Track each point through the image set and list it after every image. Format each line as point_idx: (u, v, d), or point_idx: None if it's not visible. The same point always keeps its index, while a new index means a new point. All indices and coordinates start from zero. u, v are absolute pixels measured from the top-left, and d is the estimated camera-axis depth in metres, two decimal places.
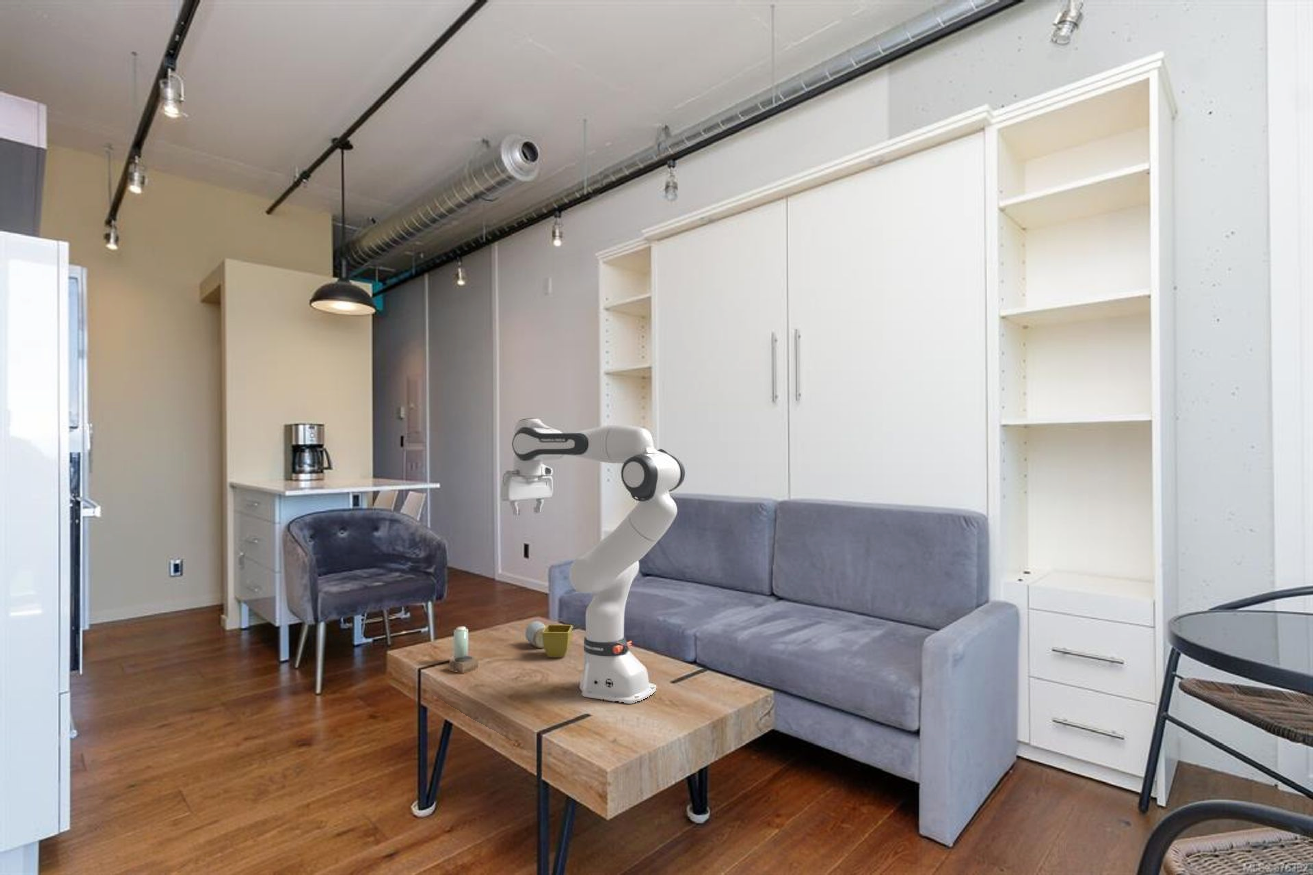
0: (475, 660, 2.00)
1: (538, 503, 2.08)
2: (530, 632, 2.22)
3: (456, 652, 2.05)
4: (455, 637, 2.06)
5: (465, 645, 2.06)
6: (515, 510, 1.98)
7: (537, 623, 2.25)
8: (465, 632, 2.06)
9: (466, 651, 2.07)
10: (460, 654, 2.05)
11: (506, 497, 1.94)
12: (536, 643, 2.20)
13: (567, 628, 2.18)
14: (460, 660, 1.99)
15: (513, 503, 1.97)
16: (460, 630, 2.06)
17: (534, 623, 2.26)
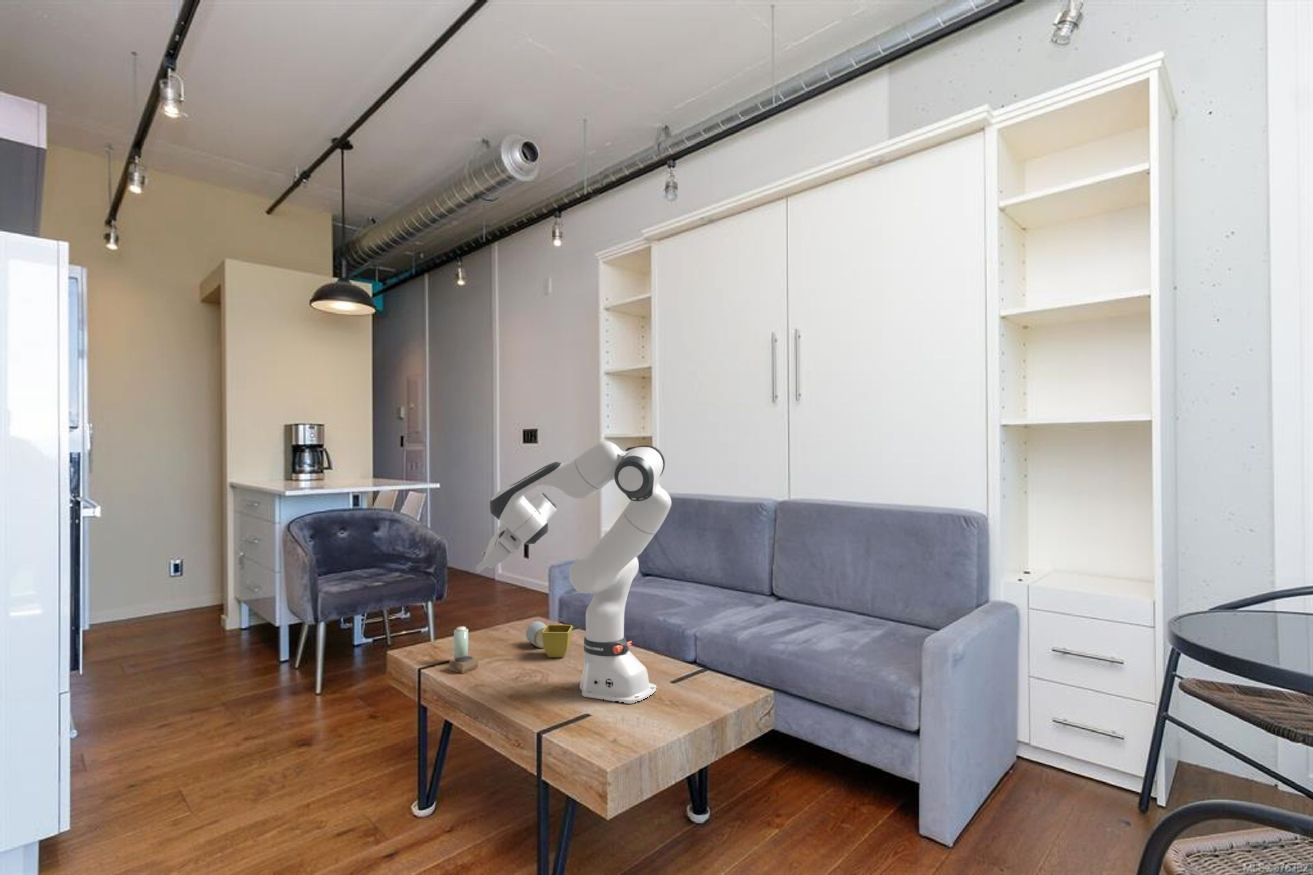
0: (475, 660, 2.00)
1: None
2: (531, 632, 2.23)
3: (456, 651, 2.05)
4: (455, 637, 2.06)
5: (465, 645, 2.06)
6: None
7: (538, 623, 2.26)
8: (465, 632, 2.06)
9: (466, 651, 2.07)
10: (460, 654, 2.05)
11: None
12: (537, 643, 2.20)
13: (567, 628, 2.18)
14: (460, 660, 1.99)
15: None
16: (460, 630, 2.06)
17: (535, 623, 2.26)
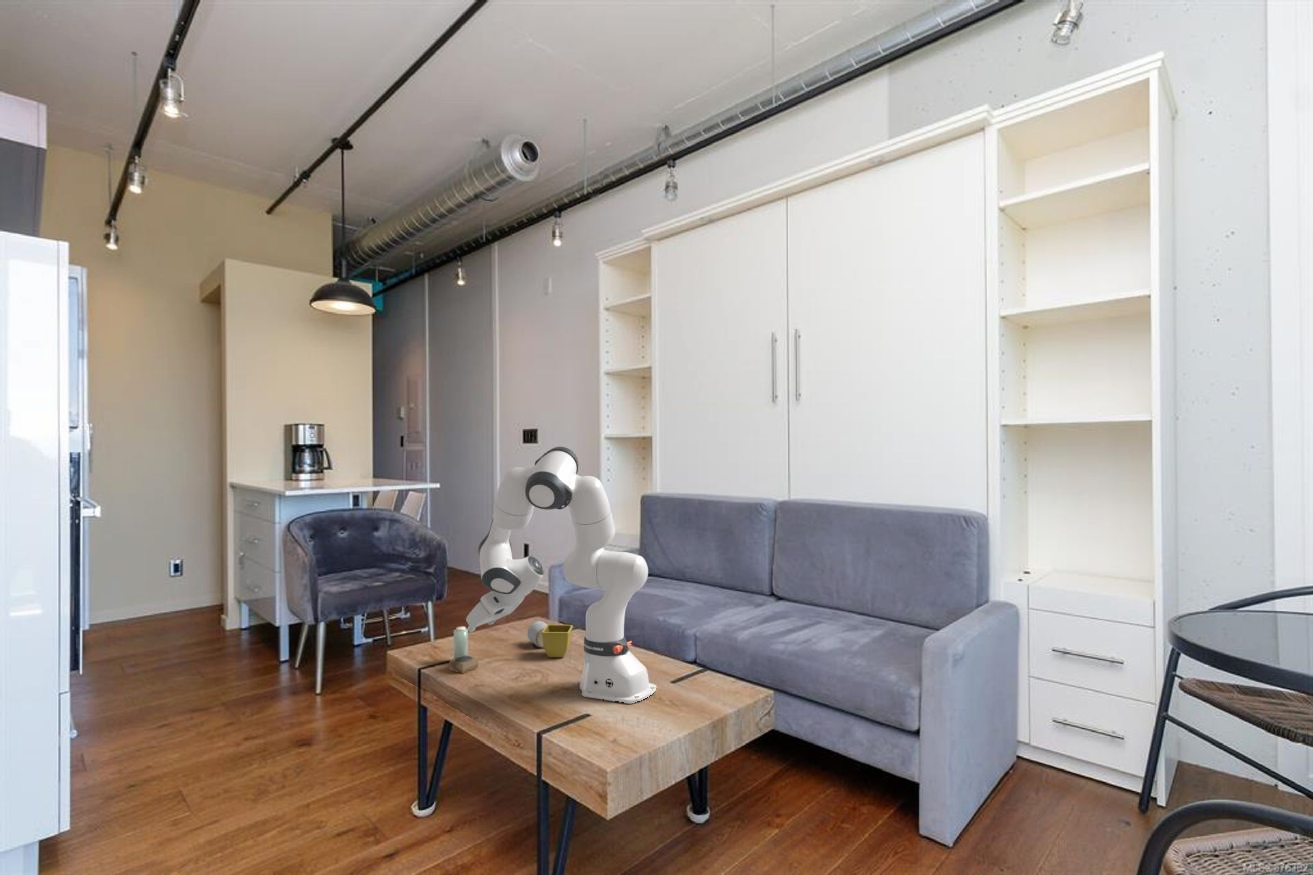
0: (475, 660, 2.00)
1: None
2: (532, 632, 2.23)
3: (456, 651, 2.05)
4: (455, 637, 2.06)
5: (465, 645, 2.06)
6: None
7: (539, 623, 2.26)
8: (465, 632, 2.06)
9: (466, 651, 2.07)
10: (459, 654, 2.05)
11: None
12: (538, 643, 2.20)
13: (567, 628, 2.18)
14: (460, 660, 1.99)
15: None
16: (460, 630, 2.06)
17: (536, 623, 2.26)
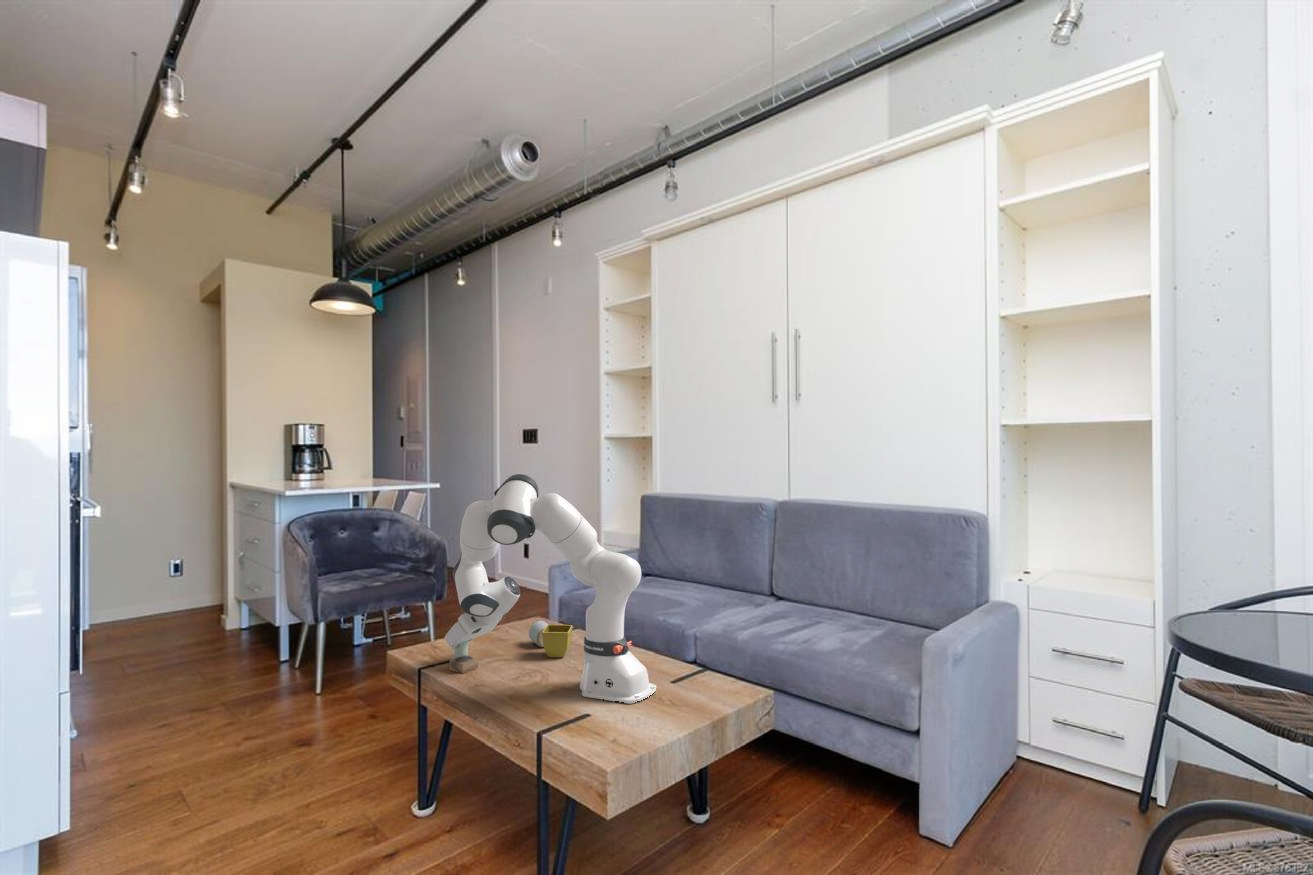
0: (475, 660, 2.00)
1: None
2: (533, 632, 2.23)
3: (456, 651, 2.05)
4: None
5: (465, 645, 2.06)
6: None
7: (540, 623, 2.26)
8: None
9: (466, 651, 2.07)
10: (460, 654, 2.05)
11: None
12: (539, 642, 2.20)
13: (567, 628, 2.18)
14: (460, 660, 1.99)
15: None
16: None
17: (537, 623, 2.26)
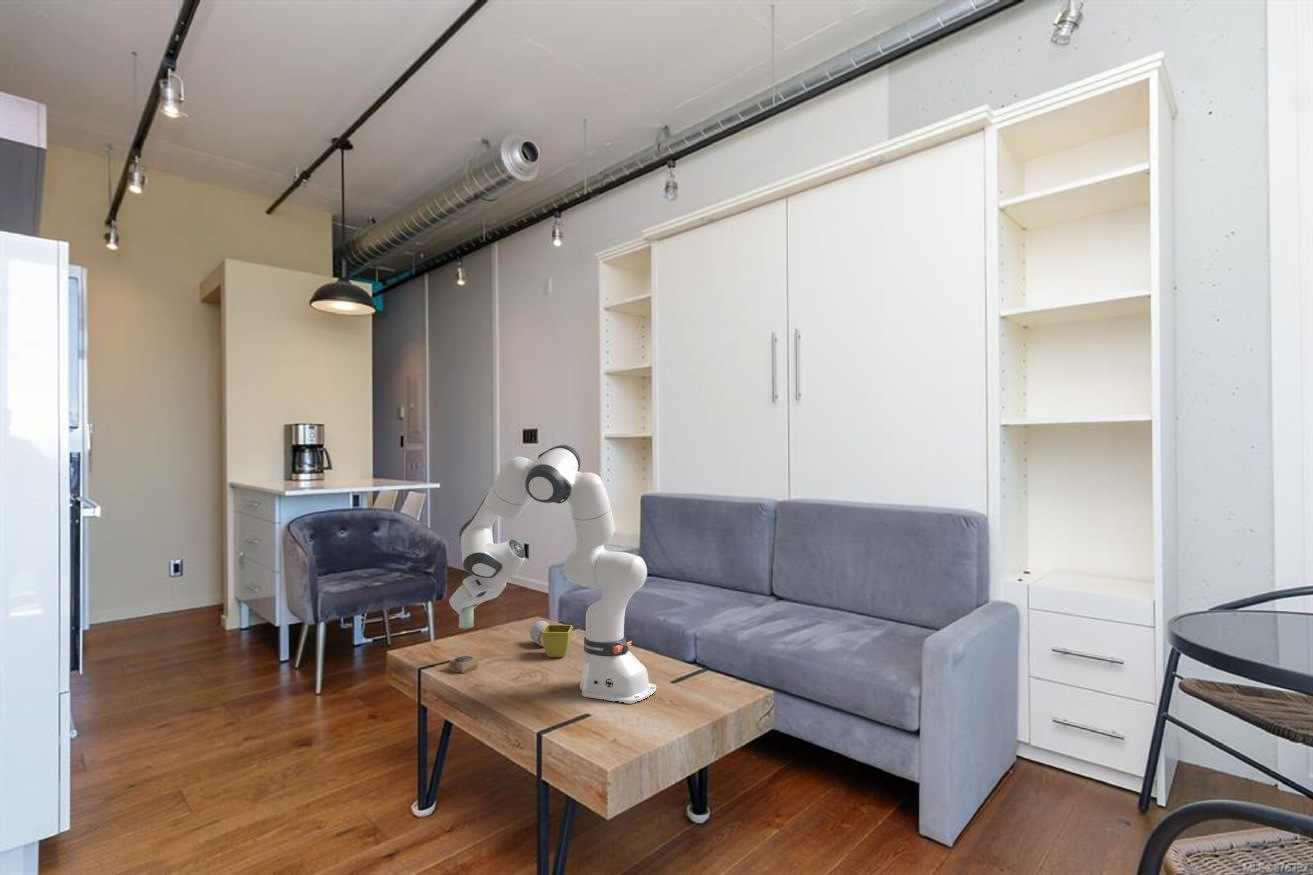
0: (475, 660, 2.00)
1: None
2: (535, 631, 2.23)
3: (462, 616, 2.03)
4: None
5: (470, 609, 2.04)
6: None
7: (542, 622, 2.26)
8: None
9: (472, 616, 2.04)
10: (465, 619, 2.03)
11: None
12: (541, 642, 2.21)
13: (567, 628, 2.18)
14: (460, 660, 1.99)
15: None
16: None
17: (539, 622, 2.27)
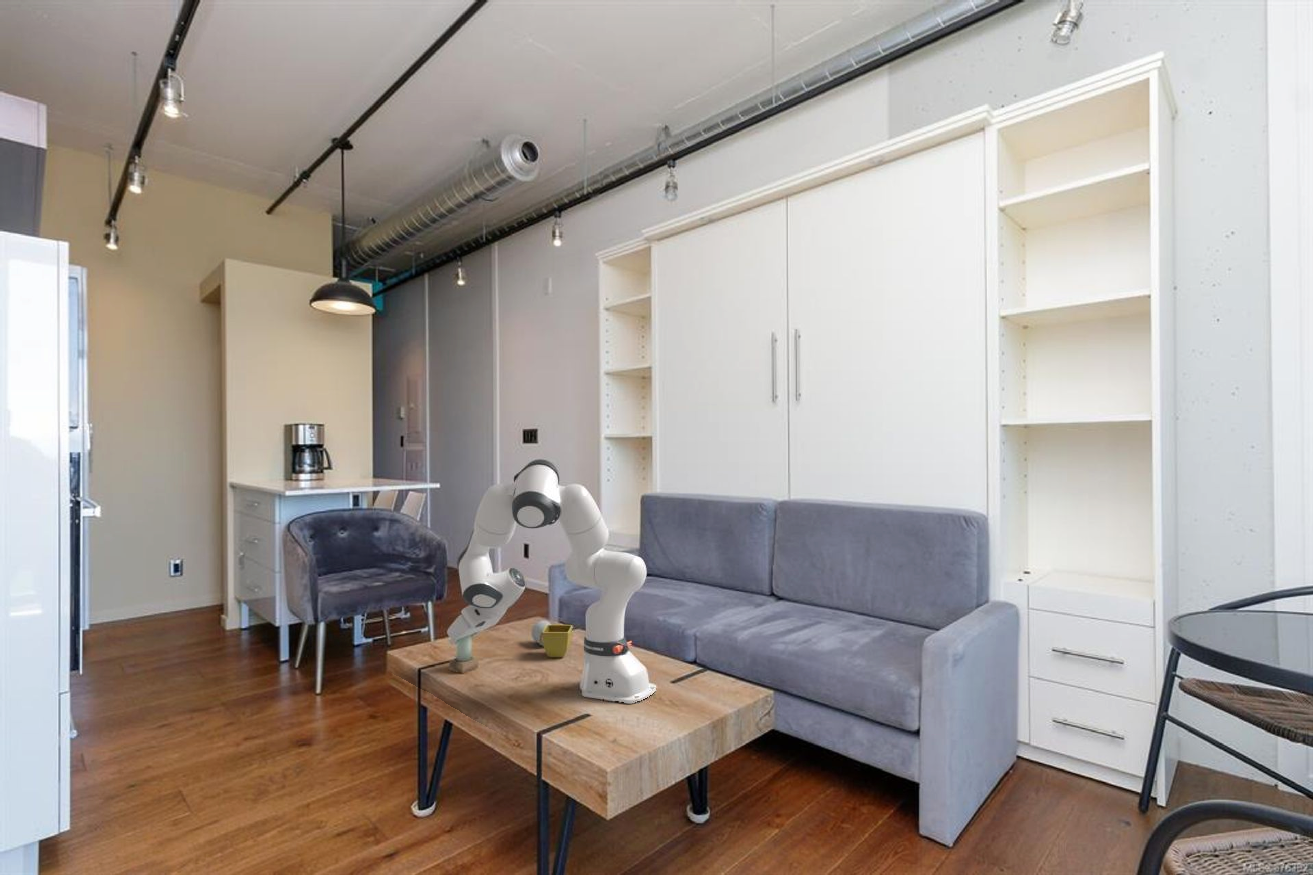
0: (475, 660, 2.00)
1: None
2: (536, 631, 2.24)
3: (459, 649, 1.98)
4: None
5: (468, 641, 1.99)
6: None
7: (543, 622, 2.27)
8: None
9: (470, 648, 2.00)
10: (463, 651, 1.98)
11: None
12: (542, 642, 2.21)
13: (567, 628, 2.18)
14: None
15: None
16: None
17: (540, 622, 2.27)
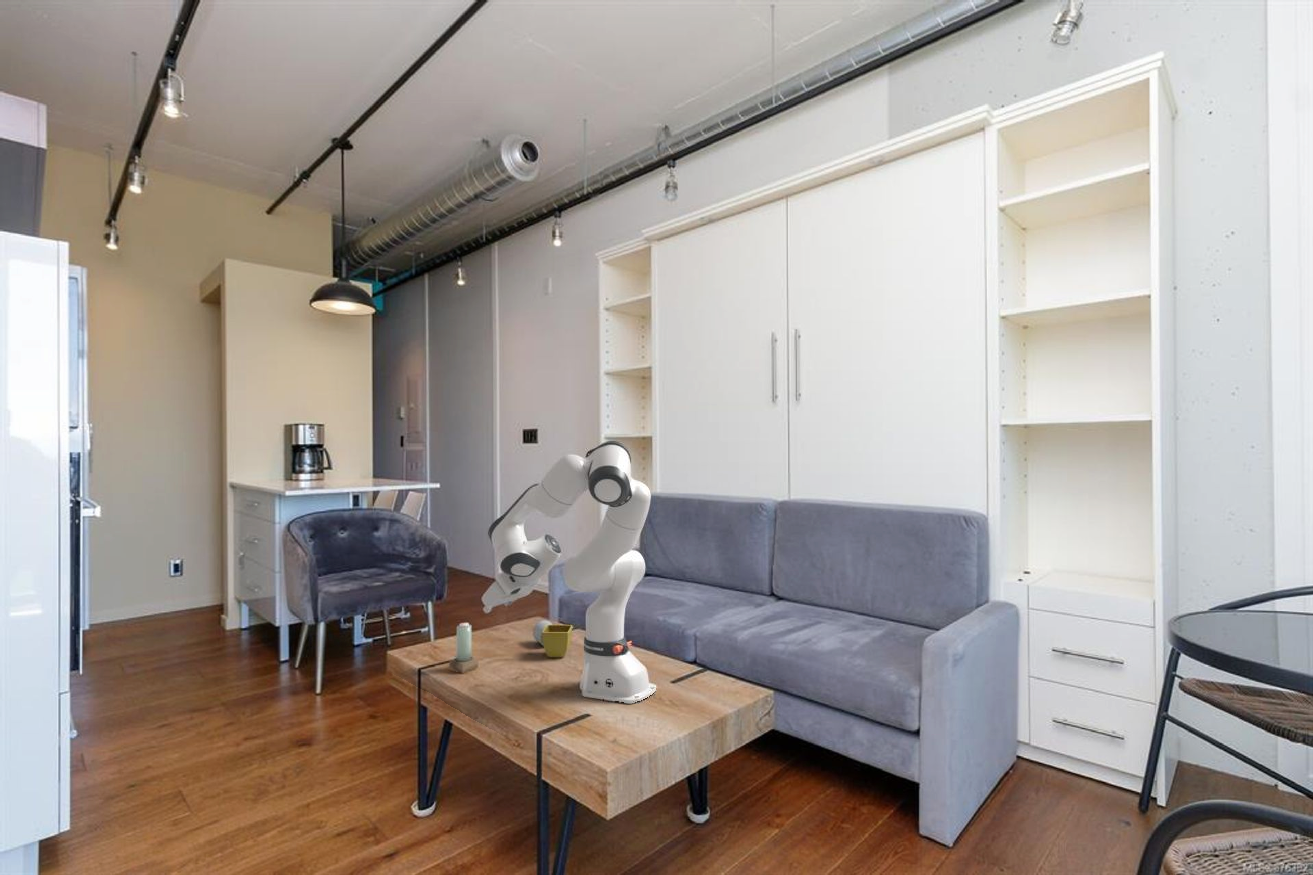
0: (475, 660, 2.00)
1: None
2: (538, 631, 2.24)
3: (459, 649, 1.98)
4: (458, 634, 1.99)
5: (468, 641, 1.99)
6: None
7: (544, 622, 2.27)
8: (468, 628, 1.99)
9: (470, 648, 2.00)
10: (463, 651, 1.98)
11: None
12: None
13: (567, 628, 2.18)
14: None
15: None
16: (463, 626, 1.99)
17: (541, 622, 2.27)
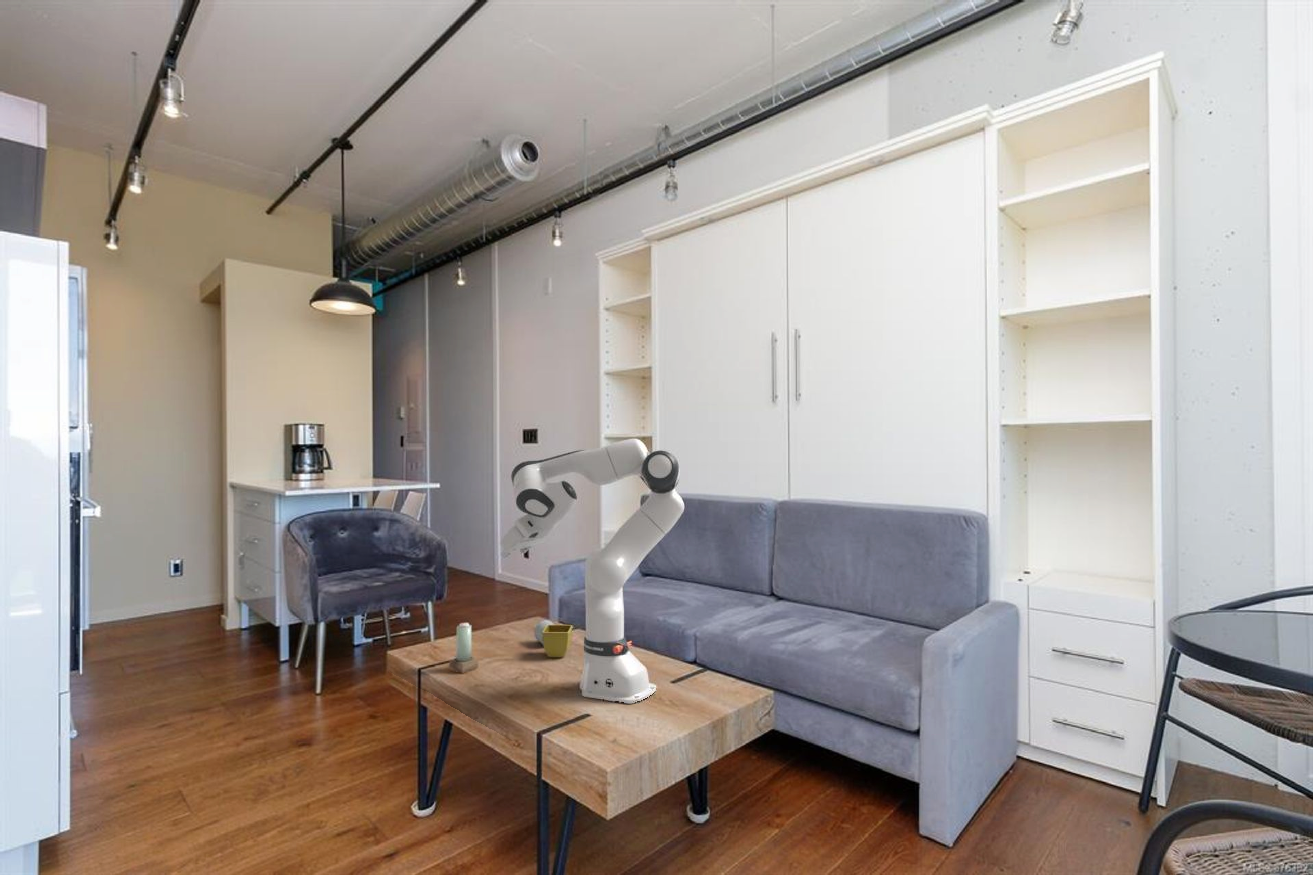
0: (475, 660, 2.00)
1: None
2: (539, 631, 2.24)
3: (459, 649, 1.98)
4: (458, 634, 1.99)
5: (468, 642, 1.99)
6: None
7: (546, 622, 2.27)
8: (468, 628, 1.99)
9: (470, 648, 2.00)
10: (463, 651, 1.98)
11: None
12: None
13: (567, 628, 2.18)
14: None
15: None
16: (463, 626, 1.99)
17: (543, 622, 2.27)
